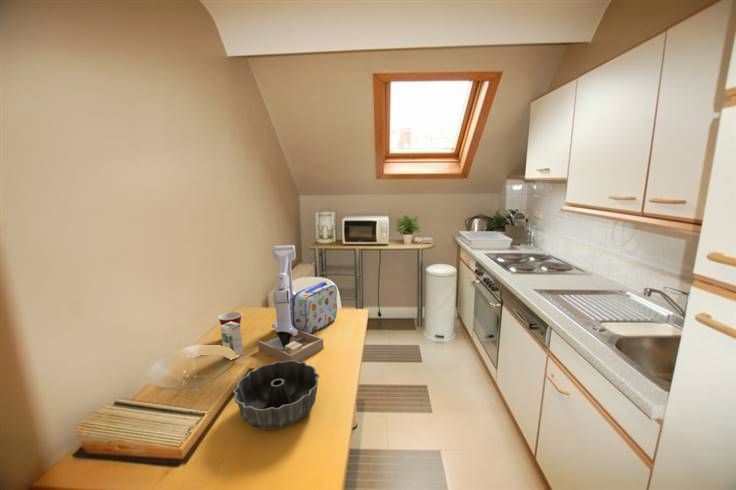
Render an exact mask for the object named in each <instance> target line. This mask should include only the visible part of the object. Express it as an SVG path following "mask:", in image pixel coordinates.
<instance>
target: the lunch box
mask: <svg viewBox="0 0 736 490" xmlns="http://www.w3.org/2000/svg"><path fill="white" fill-rule="evenodd" d="M337 290H338V289H337V287H336V285H335V284H332V283H327V281H322V282H319V283H317V284H315V285H313V286H310V287H307V288H304V289H302V290H300V291H298V292H296V294H295V295H294V297H293V300H292V309H293V327H294V328H295V329H298V330H301V331H304V332H306V333H309V334H312V333H314V332H316V331H318V330H320V329H322V328H325V327H326V326H328V325H329V324H331V323H332V322H334V321H335V320H336V318H337V314H338V313H337V312H338V306H337V304H338V303H337V299H338V298H337V297H338V295H337V294H338V292H337Z"/></svg>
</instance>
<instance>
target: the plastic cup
mask: <svg viewBox="0 0 736 490" xmlns="http://www.w3.org/2000/svg"><path fill="white" fill-rule="evenodd" d="M242 316H243V312H239V311H230V312H225V313H222V314H220V315H218V316H217V319H218V321H219V323H220V327H221V326H222V325H224V324H226V323H228V322H235V323H238V324H240V325H241V320H242Z"/></svg>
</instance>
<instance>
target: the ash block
mask: <svg viewBox="0 0 736 490" xmlns="http://www.w3.org/2000/svg"><path fill="white" fill-rule="evenodd" d="M301 349H302V344H300V343H297V342H295V341H294V342H292V343H290V344H288V345H286V346H285V352H286V353H288V354H290V355H292V354H293V353H295V352H297V351H299V350H301Z"/></svg>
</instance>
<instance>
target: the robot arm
mask: <svg viewBox="0 0 736 490" xmlns="http://www.w3.org/2000/svg"><path fill="white" fill-rule="evenodd" d="M296 256H297V255H296V247H295V245H294V244H289V245H288V244H287V245H273V247H272V257H273V259H274V261H275V262H277V266H278V267H277V269H278V274H276V276H275V284H274V285H275V287H274V291H273V294H272V298H273V300H272V301H273V303H274V309H275V315H276V321H274V322H273V323H271V328H273V329H275V332H276V333H275V334H276V335H277V337H279V338H280V340H281V343H282V346H283V347H284V348H285V346H286V345H288V344H289V342H290V338H291V335H292V334H293V336H295V335H297V334H298V330H296V329H295V328H294V327H293V309H292V300H293V297H294V295H295V294H296V293H297V292H296V291H294V287H293V286H294V285H293V274H292V273H293V272H292V262H293V261H295V260H296Z"/></svg>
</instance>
